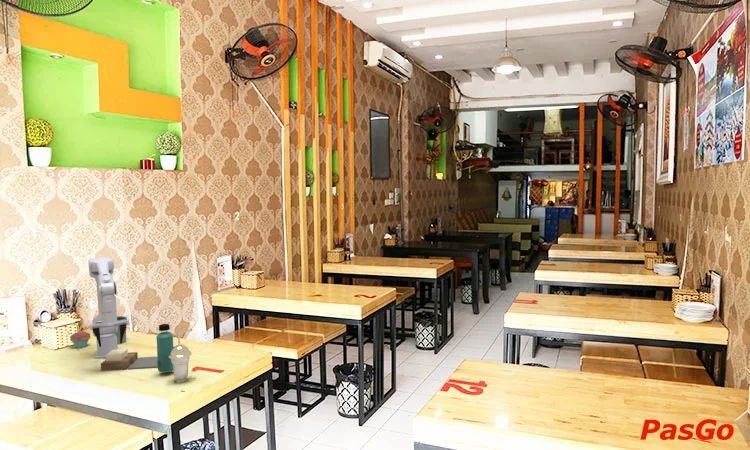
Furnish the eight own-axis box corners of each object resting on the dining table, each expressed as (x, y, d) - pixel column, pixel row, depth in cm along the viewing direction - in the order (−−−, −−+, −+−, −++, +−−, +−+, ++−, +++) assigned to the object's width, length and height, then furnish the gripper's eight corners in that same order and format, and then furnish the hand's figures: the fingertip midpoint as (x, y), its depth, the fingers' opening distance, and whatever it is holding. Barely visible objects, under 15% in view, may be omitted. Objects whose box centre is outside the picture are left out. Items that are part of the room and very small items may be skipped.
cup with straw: (182, 374, 208) (180, 325, 207) (198, 378, 204) (196, 327, 202) (164, 381, 201) (162, 330, 200) (180, 385, 196) (178, 333, 195)
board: (113, 360, 229) (113, 353, 229) (137, 358, 230) (137, 352, 230) (100, 370, 215) (100, 363, 215) (126, 369, 216) (126, 362, 216)
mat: (138, 358, 230) (138, 357, 230) (167, 357, 232) (167, 355, 231) (127, 369, 216) (127, 368, 216) (158, 367, 218) (158, 366, 218)
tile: (113, 355, 226) (112, 349, 226) (127, 354, 227) (127, 348, 226) (106, 361, 218) (105, 355, 218) (121, 360, 219) (120, 354, 218)
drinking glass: (108, 340, 260) (106, 316, 260) (130, 338, 263) (128, 315, 262) (102, 346, 250) (101, 321, 250) (125, 344, 253) (124, 320, 252)
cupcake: (84, 349, 247) (83, 323, 246) (66, 349, 247) (65, 324, 246) (94, 343, 255) (93, 319, 254) (77, 344, 255) (75, 319, 254)
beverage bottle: (178, 371, 212) (176, 322, 211) (167, 377, 206) (165, 327, 205) (165, 370, 215) (163, 321, 213) (153, 375, 208) (151, 325, 207)
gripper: (88, 315, 208) (90, 349, 208) (128, 310, 215) (130, 343, 215) (88, 313, 215) (90, 346, 215) (127, 308, 221) (129, 340, 221)
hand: (110, 344), depth 215 cm, fingers open, 7 cm apart
